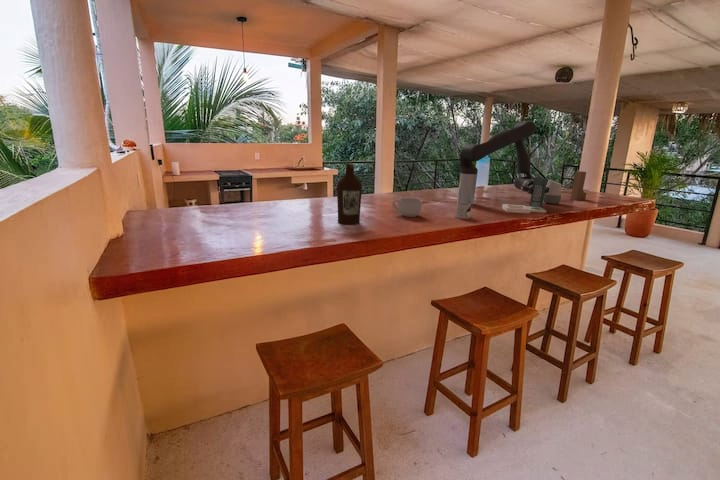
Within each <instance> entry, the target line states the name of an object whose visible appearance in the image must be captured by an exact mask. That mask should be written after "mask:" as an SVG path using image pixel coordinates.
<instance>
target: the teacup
mask: <svg viewBox="0 0 720 480" xmlns="http://www.w3.org/2000/svg"><path fill="white" fill-rule="evenodd" d="M395 202H397V204H398V206H397V205H396V204H395ZM422 203H423V200H422V199H420V198H417V197H400V198H399V199H398V198H395V199H394V200H392V207H393V208H394V209H396V210H397V211H398V212H400V214H401V215H402V216H404V217H407V218H415V217H418V215H420V213H421V211H422Z"/></svg>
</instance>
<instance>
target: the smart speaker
mask: <svg viewBox="0 0 720 480" xmlns="http://www.w3.org/2000/svg"><path fill="white" fill-rule="evenodd" d="M546 186H547V187H549V188H550V189H549V193H545V195H544V200H543V203H545V204H547V205H559V204H560V202H561V199H562V187H563V186H562V183H560V182H557V181H555V180H552V179H547V183H546Z"/></svg>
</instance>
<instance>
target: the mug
mask: <svg viewBox="0 0 720 480" xmlns="http://www.w3.org/2000/svg"><path fill="white" fill-rule="evenodd" d="M471 210H472V205H471V204H469V203H457V202H456V209H455V219H461V220H470V219H471Z"/></svg>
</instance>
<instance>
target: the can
mask: <svg viewBox="0 0 720 480" xmlns="http://www.w3.org/2000/svg"><path fill="white" fill-rule="evenodd" d="M533 180H534V182H533V193H532V194H530V202H529V207H536V208H537V207H538V208H543V205H544V195H545V189H546V186H547V183H548V178H546V177H545V178H544V177H534V178H533Z"/></svg>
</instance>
